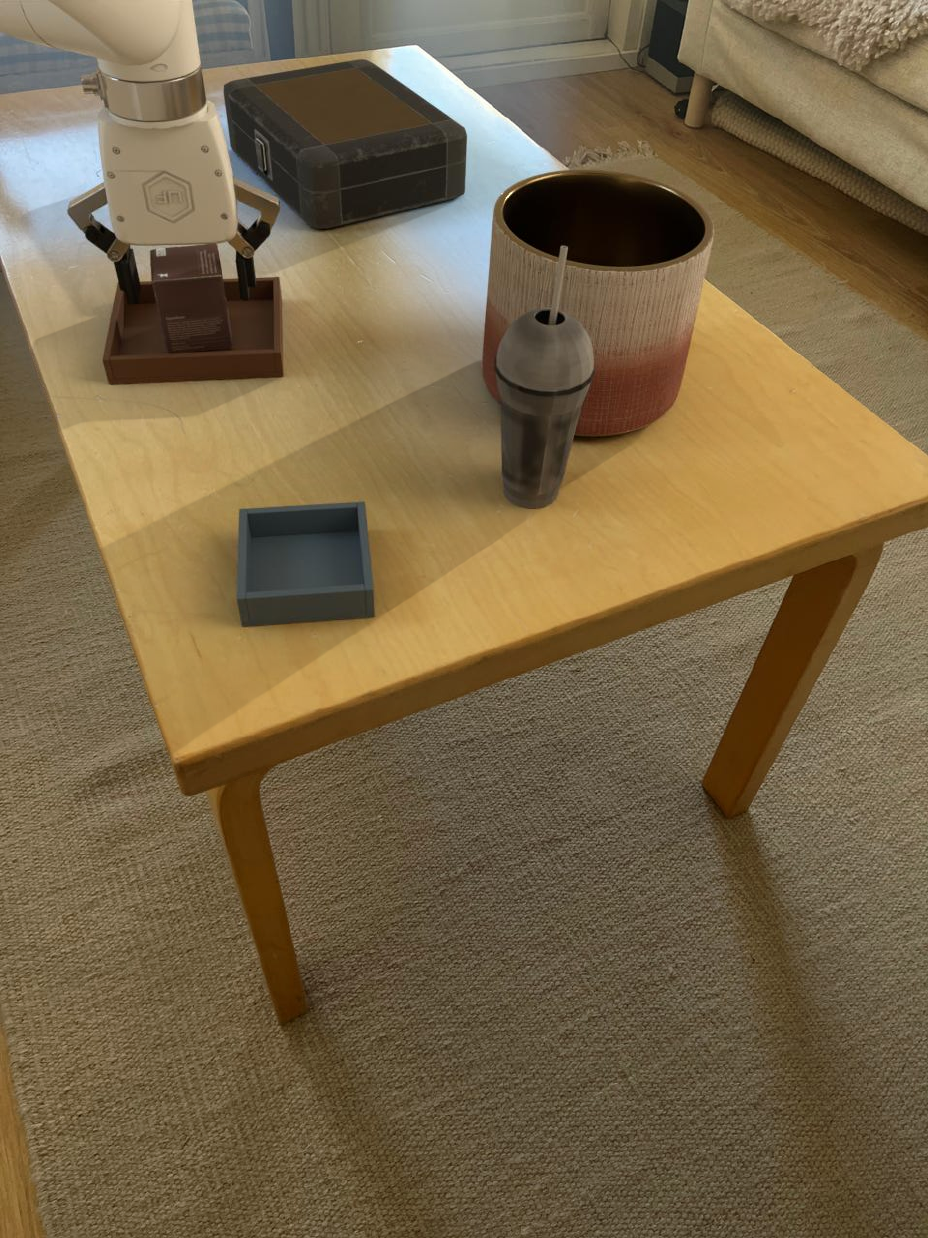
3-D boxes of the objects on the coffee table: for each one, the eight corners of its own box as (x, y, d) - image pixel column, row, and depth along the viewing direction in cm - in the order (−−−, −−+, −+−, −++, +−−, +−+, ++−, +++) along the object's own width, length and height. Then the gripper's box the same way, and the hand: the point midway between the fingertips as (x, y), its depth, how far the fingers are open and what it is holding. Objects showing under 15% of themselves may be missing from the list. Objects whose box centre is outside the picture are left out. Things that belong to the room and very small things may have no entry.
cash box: (221, 148, 121) (212, 80, 115) (369, 119, 128) (367, 54, 122) (309, 236, 107) (303, 164, 101) (470, 198, 114) (473, 128, 108)
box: (234, 350, 90) (222, 275, 85) (166, 356, 89) (150, 281, 84) (229, 315, 94) (218, 241, 89) (164, 321, 93) (148, 247, 88)
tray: (108, 384, 87) (102, 359, 85) (123, 305, 96) (117, 281, 94) (283, 376, 89) (280, 352, 87) (282, 300, 98) (279, 276, 96)
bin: (241, 626, 69) (236, 599, 66) (243, 536, 75) (238, 508, 73) (375, 617, 70) (373, 589, 68) (366, 528, 76) (364, 501, 74)
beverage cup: (469, 500, 78) (482, 263, 64) (509, 450, 83) (530, 218, 68) (553, 531, 76) (586, 293, 61) (589, 479, 81) (629, 245, 66)
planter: (697, 358, 93) (737, 192, 82) (649, 467, 82) (688, 293, 70) (520, 315, 97) (534, 151, 86) (450, 413, 86) (456, 239, 74)
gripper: (29, 110, 73) (86, 320, 85) (268, 108, 75) (289, 313, 87) (45, 73, 78) (96, 276, 90) (268, 72, 80) (287, 271, 92)
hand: (190, 294), depth 89 cm, fingers open, 9 cm apart
